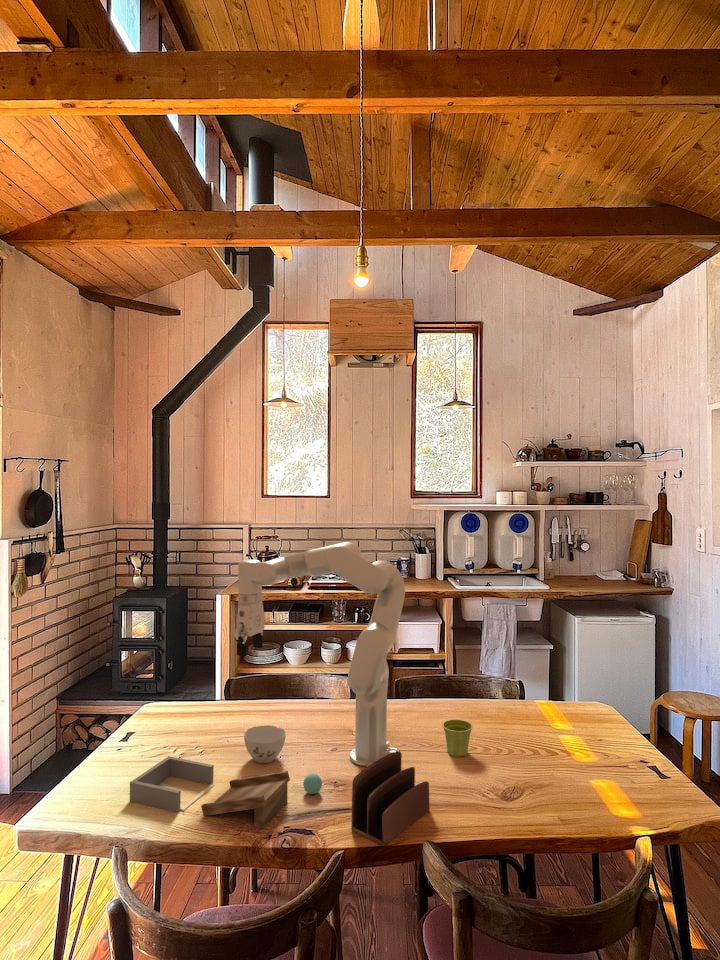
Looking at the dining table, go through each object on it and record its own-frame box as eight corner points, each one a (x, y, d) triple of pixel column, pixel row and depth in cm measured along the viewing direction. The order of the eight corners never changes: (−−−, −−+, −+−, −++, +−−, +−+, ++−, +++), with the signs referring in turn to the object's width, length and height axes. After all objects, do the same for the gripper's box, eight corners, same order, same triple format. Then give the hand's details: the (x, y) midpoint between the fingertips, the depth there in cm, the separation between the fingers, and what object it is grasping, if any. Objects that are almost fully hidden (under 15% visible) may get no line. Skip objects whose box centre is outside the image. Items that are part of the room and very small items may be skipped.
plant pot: (437, 755, 187) (437, 727, 187) (448, 743, 196) (448, 716, 196) (467, 762, 183) (467, 733, 183) (476, 750, 191) (476, 722, 191)
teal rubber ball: (324, 790, 166) (324, 771, 166) (317, 799, 161) (317, 780, 161) (308, 786, 168) (308, 768, 168) (300, 795, 163) (300, 777, 163)
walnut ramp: (290, 801, 160) (290, 771, 160) (263, 830, 147) (264, 797, 147) (231, 788, 166) (231, 759, 166) (201, 815, 153) (201, 783, 153)
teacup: (279, 770, 177) (280, 743, 177) (238, 767, 179) (238, 740, 178) (291, 747, 192) (291, 722, 192) (252, 745, 193) (253, 720, 193)
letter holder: (350, 831, 147) (351, 773, 147) (398, 798, 163) (398, 745, 162) (383, 847, 141) (384, 786, 141) (430, 811, 156) (430, 756, 156)
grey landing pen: (216, 783, 169) (216, 765, 169) (180, 813, 154) (180, 793, 154) (168, 773, 175) (168, 756, 175) (129, 801, 160) (129, 782, 160)
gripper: (245, 604, 187) (245, 660, 187) (273, 594, 203) (273, 645, 203) (224, 602, 189) (224, 657, 189) (253, 592, 205) (253, 643, 205)
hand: (249, 651), depth 196 cm, fingers open, 9 cm apart
